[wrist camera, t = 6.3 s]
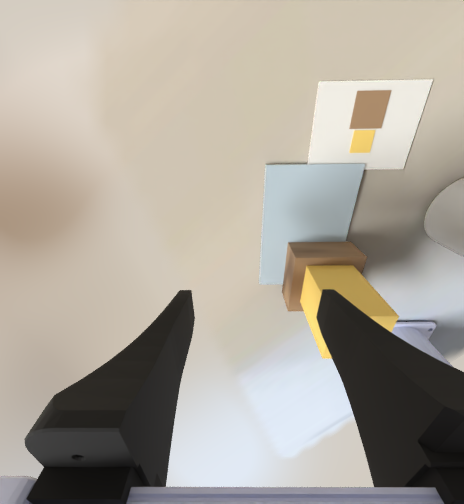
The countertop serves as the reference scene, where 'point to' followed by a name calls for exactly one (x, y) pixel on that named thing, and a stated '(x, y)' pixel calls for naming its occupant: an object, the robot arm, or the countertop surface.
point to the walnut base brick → (314, 264)
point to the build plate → (304, 209)
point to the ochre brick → (349, 287)
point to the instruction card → (366, 121)
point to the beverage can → (447, 218)
